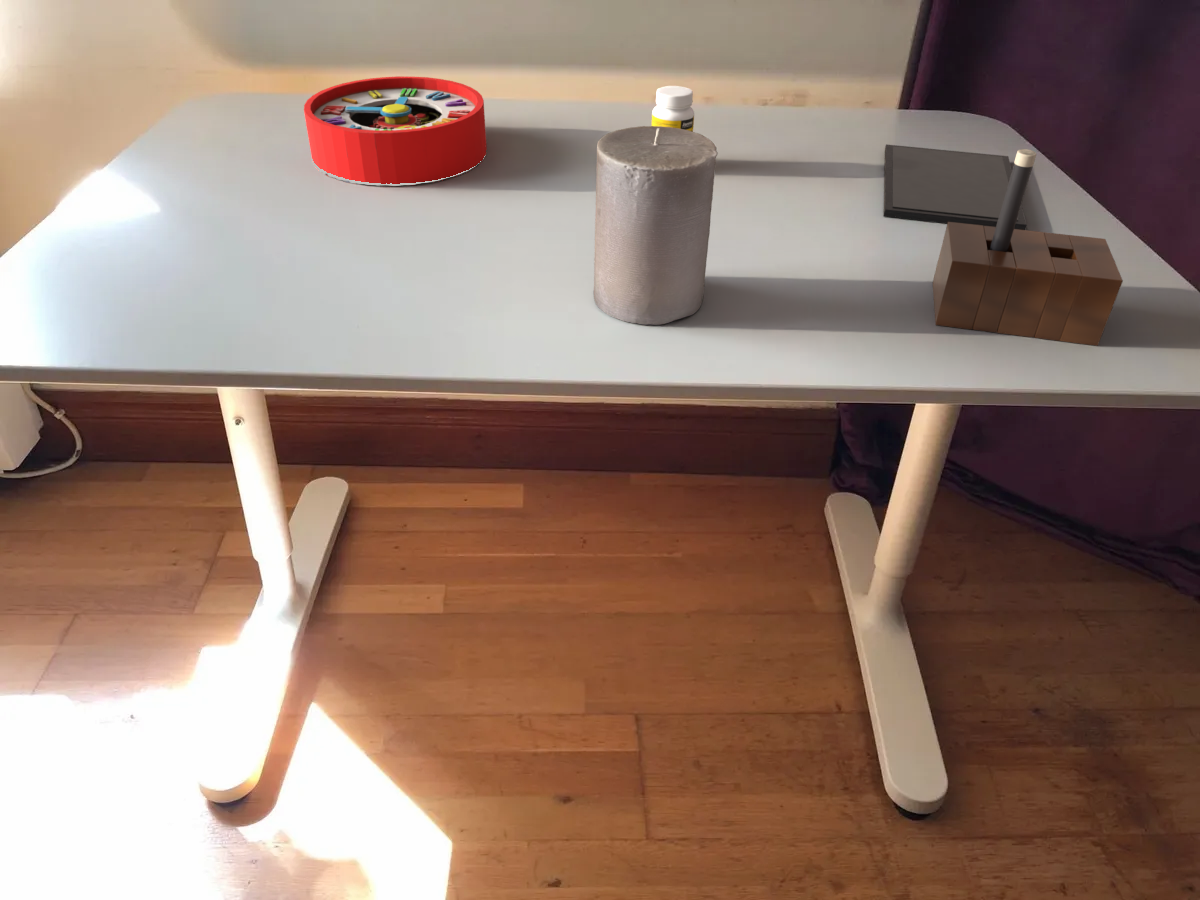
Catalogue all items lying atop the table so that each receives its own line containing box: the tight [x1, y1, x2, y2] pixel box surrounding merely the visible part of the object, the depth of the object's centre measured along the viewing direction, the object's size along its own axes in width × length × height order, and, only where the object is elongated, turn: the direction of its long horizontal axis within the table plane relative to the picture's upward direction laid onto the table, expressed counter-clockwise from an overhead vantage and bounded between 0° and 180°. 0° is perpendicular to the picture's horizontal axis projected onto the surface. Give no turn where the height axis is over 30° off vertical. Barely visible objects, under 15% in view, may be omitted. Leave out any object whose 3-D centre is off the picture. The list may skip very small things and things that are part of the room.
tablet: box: [882, 144, 1028, 230], centre depth 105 cm, size 14×20×1 cm
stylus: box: [990, 148, 1037, 252], centre depth 79 cm, size 1×1×14 cm
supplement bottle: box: [650, 85, 695, 132], centre depth 107 cm, size 5×5×8 cm
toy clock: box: [303, 75, 488, 184], centre depth 109 cm, size 20×6×20 cm
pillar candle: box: [593, 125, 719, 326], centre depth 79 cm, size 10×10×15 cm
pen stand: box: [932, 222, 1124, 347], centre depth 81 cm, size 13×8×6 cm, turn 76°
